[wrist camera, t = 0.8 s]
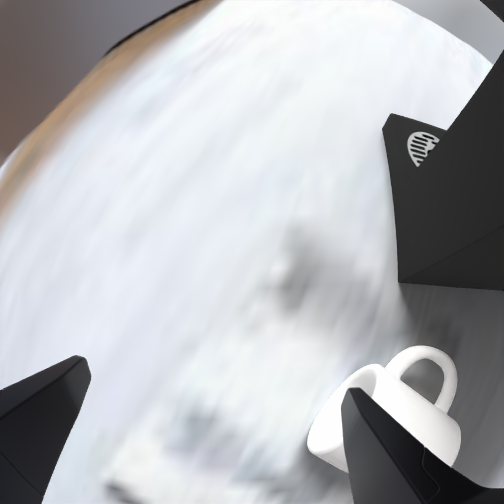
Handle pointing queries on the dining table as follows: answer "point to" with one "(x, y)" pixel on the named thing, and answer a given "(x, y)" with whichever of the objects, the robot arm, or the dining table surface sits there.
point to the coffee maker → (452, 190)
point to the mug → (393, 408)
